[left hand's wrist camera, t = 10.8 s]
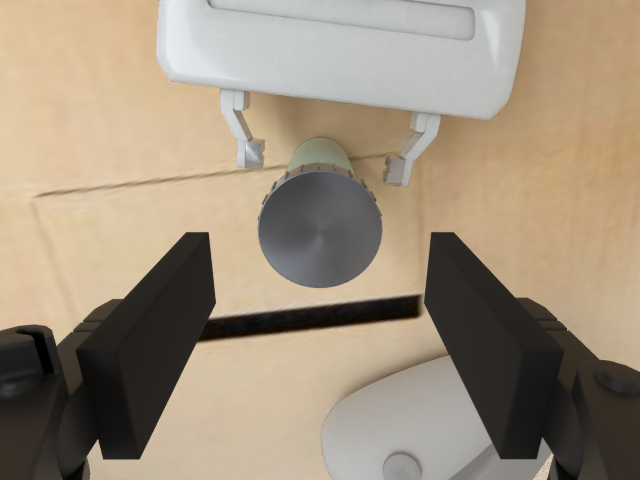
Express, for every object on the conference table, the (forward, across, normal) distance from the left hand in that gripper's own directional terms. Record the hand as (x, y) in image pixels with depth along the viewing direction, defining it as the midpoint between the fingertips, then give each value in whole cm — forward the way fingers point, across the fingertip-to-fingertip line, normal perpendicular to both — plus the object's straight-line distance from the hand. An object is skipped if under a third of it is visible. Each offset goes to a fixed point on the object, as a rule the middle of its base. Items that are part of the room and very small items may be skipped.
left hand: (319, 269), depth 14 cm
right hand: (+13, 0, +1) cm, 13 cm away
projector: (+20, +12, -24) cm, 33 cm away
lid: (+4, 0, 0) cm, 4 cm away
